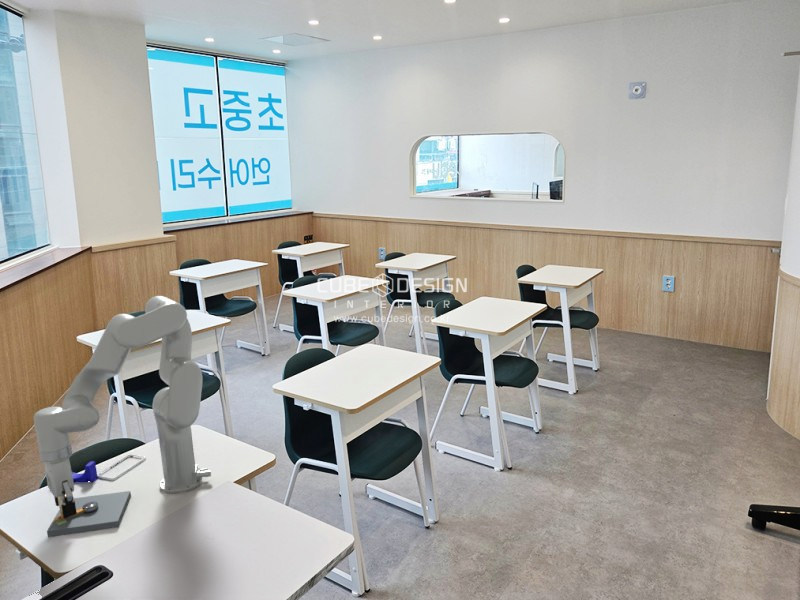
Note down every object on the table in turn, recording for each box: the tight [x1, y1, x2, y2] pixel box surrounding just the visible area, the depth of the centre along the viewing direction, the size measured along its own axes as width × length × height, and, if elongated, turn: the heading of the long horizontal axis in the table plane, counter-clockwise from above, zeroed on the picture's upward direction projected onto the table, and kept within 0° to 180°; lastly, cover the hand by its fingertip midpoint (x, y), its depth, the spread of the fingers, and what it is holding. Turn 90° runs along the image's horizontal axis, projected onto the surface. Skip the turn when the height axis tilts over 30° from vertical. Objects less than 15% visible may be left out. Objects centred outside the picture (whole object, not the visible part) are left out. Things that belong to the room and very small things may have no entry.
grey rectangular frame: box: [97, 453, 147, 482], centre depth 199 cm, size 7×1×15 cm
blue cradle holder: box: [72, 460, 99, 484], centre depth 191 cm, size 12×4×6 cm, turn 84°
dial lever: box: [54, 495, 98, 522], centre depth 169 cm, size 11×4×7 cm, turn 131°
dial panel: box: [46, 490, 132, 538], centre depth 172 cm, size 18×16×2 cm
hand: (66, 509), depth 167 cm, fingers open, 7 cm apart
